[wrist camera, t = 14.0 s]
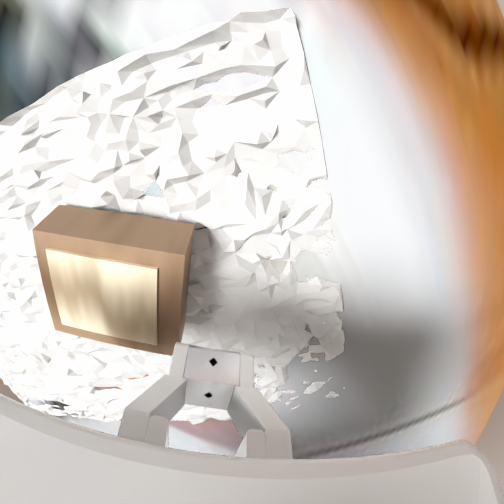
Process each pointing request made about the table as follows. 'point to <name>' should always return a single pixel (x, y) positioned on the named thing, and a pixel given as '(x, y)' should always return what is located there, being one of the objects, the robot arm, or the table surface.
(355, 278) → the table surface
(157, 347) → the brown rectangular block
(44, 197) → the carpet tile
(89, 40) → the table surface
